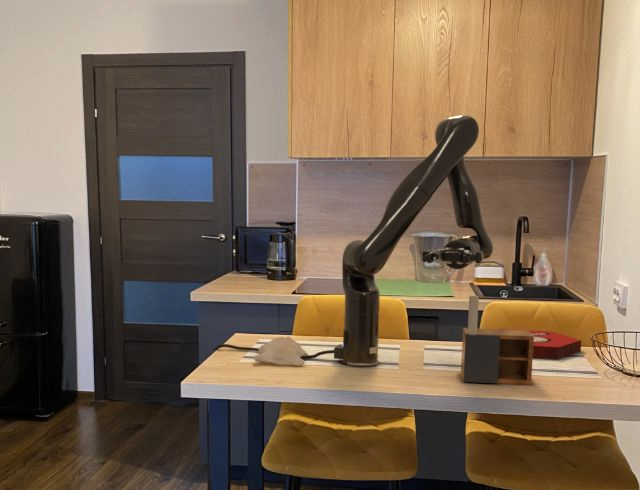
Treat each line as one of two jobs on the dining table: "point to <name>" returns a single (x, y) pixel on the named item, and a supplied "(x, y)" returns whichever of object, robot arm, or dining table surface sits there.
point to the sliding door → (480, 350)
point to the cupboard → (510, 355)
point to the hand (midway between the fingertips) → (446, 259)
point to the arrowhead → (281, 352)
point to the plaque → (553, 345)
